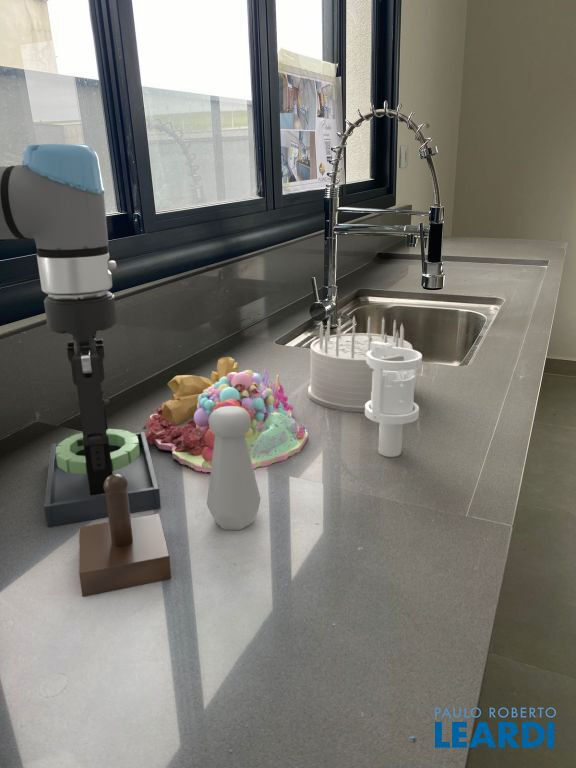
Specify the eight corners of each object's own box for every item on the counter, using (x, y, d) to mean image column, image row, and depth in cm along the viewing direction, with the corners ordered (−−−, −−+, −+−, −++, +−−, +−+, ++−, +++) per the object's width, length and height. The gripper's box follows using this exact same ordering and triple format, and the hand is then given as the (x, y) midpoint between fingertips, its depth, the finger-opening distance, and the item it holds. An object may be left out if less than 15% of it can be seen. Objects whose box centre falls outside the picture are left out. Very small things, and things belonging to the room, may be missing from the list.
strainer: (384, 436, 87) (388, 335, 82) (426, 451, 82) (433, 345, 77) (353, 452, 82) (355, 346, 78) (395, 468, 78) (401, 356, 73)
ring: (56, 480, 68) (54, 467, 68) (58, 446, 77) (57, 434, 76) (142, 467, 71) (141, 455, 70) (136, 435, 80) (134, 424, 79)
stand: (82, 596, 55) (68, 503, 51) (82, 548, 62) (69, 463, 59) (171, 578, 57) (163, 487, 54) (161, 533, 64) (153, 451, 61)
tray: (47, 527, 66) (44, 507, 65) (53, 461, 81) (51, 443, 80) (160, 507, 69) (159, 488, 68) (146, 448, 85) (144, 431, 84)
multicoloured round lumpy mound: (114, 433, 89) (107, 374, 86) (233, 393, 106) (230, 341, 103) (227, 488, 73) (223, 417, 70) (346, 430, 89) (347, 371, 86)
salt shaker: (272, 519, 66) (269, 409, 62) (233, 541, 63) (227, 425, 58) (236, 501, 70) (231, 396, 66) (197, 521, 66) (189, 411, 62)
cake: (431, 390, 106) (436, 315, 101) (375, 420, 93) (378, 337, 88) (347, 371, 117) (348, 303, 112) (286, 396, 104) (285, 320, 100)
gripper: (119, 309, 59) (140, 512, 66) (109, 276, 79) (126, 434, 86) (36, 315, 56) (67, 524, 64) (48, 280, 76) (70, 441, 84)
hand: (101, 472), depth 75 cm, fingers closed on ring, 9 cm apart
